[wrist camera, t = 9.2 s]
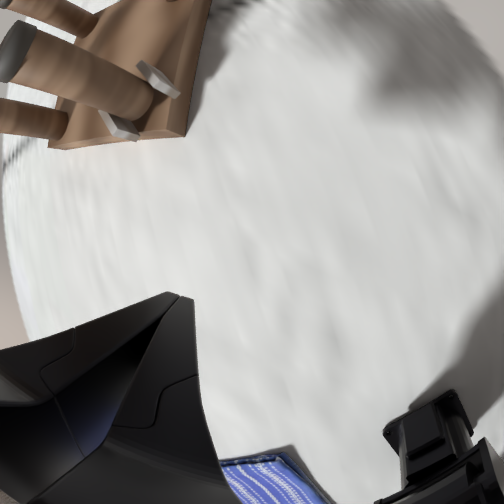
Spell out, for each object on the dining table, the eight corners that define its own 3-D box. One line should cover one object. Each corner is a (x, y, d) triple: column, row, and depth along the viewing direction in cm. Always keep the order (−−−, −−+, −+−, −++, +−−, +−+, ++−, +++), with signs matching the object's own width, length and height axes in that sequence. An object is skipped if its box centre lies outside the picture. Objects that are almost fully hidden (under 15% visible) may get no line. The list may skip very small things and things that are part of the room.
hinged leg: (161, 95, 16) (18, 30, 6) (130, 130, 17) (-14, 89, 7) (144, 73, 17) (19, 13, 6) (116, 105, 18) (-11, 64, 7)
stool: (223, -16, 17) (132, -114, 3) (192, 146, 20) (4, 90, 6) (97, 27, 22) (5, -13, 9) (64, 156, 25) (-55, 147, 11)
